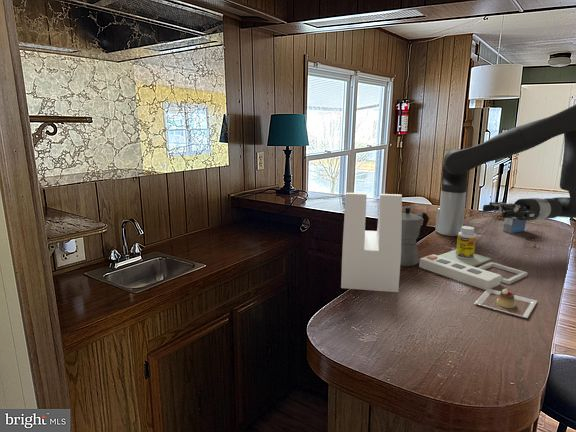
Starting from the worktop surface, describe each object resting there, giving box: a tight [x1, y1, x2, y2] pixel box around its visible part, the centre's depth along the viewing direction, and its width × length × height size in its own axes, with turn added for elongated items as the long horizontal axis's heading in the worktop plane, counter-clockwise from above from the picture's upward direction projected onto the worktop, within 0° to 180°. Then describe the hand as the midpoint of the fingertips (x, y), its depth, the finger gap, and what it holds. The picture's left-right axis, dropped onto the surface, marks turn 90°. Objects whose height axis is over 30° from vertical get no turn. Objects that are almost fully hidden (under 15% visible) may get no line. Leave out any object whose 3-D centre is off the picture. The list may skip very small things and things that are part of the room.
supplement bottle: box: [455, 225, 477, 259], centre depth 136 cm, size 6×6×10 cm
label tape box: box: [502, 218, 527, 234], centre depth 168 cm, size 9×4×12 cm, turn 118°
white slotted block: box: [340, 192, 403, 293], centre depth 120 cm, size 19×15×25 cm
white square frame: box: [477, 261, 528, 285], centre depth 125 cm, size 11×11×1 cm
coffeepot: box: [400, 207, 430, 267], centre depth 134 cm, size 15×9×18 cm, turn 115°
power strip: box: [418, 253, 502, 291], centre depth 124 cm, size 22×10×3 cm, turn 37°
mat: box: [438, 249, 492, 267], centre depth 138 cm, size 12×12×1 cm
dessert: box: [474, 288, 538, 319], centre depth 105 cm, size 12×12×5 cm
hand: (492, 211), depth 137 cm, fingers open, 8 cm apart
